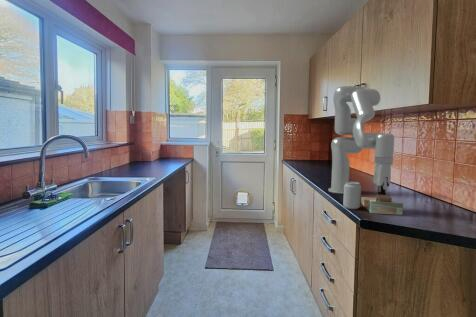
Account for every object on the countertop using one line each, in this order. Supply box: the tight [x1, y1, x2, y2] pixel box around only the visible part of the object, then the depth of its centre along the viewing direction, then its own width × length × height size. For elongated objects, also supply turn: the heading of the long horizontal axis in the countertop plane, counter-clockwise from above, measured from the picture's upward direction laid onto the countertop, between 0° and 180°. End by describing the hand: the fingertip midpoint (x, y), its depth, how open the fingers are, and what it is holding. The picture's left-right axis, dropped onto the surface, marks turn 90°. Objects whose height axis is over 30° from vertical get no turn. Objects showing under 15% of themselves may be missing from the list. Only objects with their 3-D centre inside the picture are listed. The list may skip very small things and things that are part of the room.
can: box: [342, 181, 362, 210], centre depth 142 cm, size 8×8×12 cm
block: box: [375, 194, 393, 202], centre depth 136 cm, size 5×5×4 cm
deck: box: [360, 196, 404, 216], centre depth 141 cm, size 18×13×5 cm
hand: (381, 200), depth 141 cm, fingers closed
